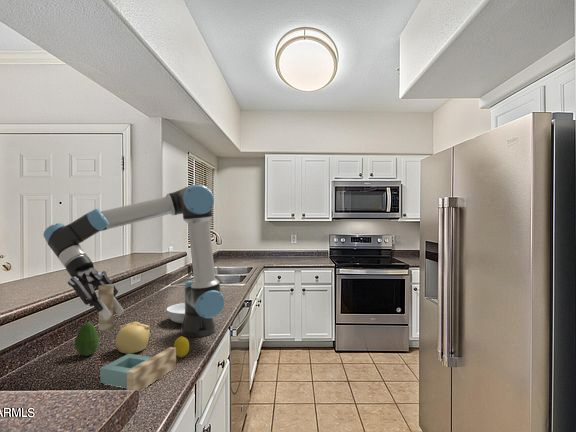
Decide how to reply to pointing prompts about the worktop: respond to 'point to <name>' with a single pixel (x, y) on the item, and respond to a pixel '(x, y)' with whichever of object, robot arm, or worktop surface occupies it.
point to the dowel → (108, 298)
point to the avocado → (87, 340)
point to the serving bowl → (176, 312)
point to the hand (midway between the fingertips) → (115, 315)
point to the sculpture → (132, 337)
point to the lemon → (181, 346)
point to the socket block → (120, 369)
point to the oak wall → (151, 369)
